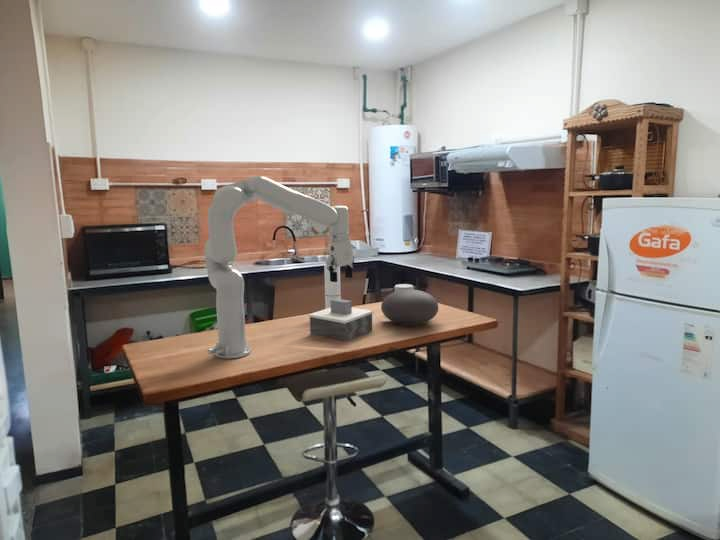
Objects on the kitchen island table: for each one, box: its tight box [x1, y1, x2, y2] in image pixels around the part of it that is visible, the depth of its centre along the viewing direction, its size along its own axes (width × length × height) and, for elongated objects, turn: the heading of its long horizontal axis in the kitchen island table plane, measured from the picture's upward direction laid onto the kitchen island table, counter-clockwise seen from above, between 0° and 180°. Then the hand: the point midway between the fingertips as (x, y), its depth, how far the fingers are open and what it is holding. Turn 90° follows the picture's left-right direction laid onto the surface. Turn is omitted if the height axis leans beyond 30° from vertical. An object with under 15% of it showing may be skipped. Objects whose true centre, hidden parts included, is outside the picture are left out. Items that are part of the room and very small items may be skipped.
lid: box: [308, 298, 374, 323], centre depth 198 cm, size 19×19×7 cm
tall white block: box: [323, 263, 342, 309], centre depth 225 cm, size 7×7×25 cm
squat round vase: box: [380, 288, 439, 326], centre depth 213 cm, size 25×25×15 cm
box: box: [309, 314, 373, 342], centre depth 199 cm, size 18×18×8 cm
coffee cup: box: [393, 283, 415, 292], centre depth 238 cm, size 9×9×12 cm
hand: (341, 279), depth 197 cm, fingers open, 9 cm apart
